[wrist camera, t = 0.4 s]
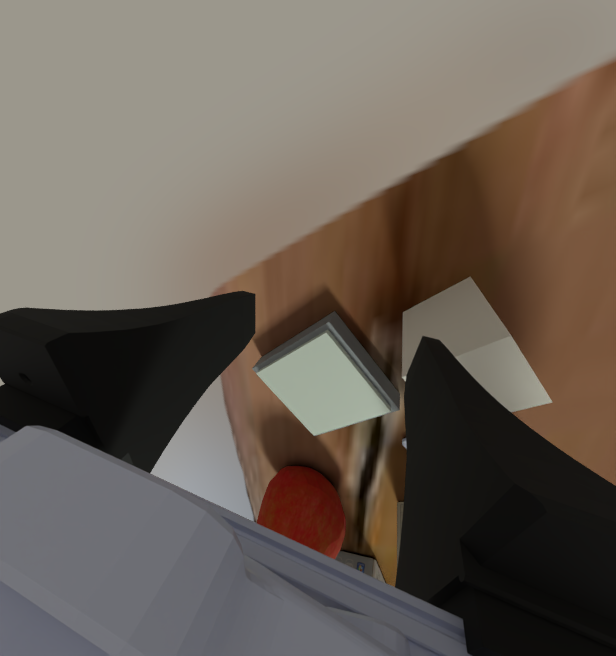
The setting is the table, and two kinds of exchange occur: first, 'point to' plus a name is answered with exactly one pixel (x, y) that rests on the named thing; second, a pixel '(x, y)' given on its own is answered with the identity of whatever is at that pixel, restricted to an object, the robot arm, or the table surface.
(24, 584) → the robot arm
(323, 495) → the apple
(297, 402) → the tray
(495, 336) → the carton
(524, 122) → the table surface
